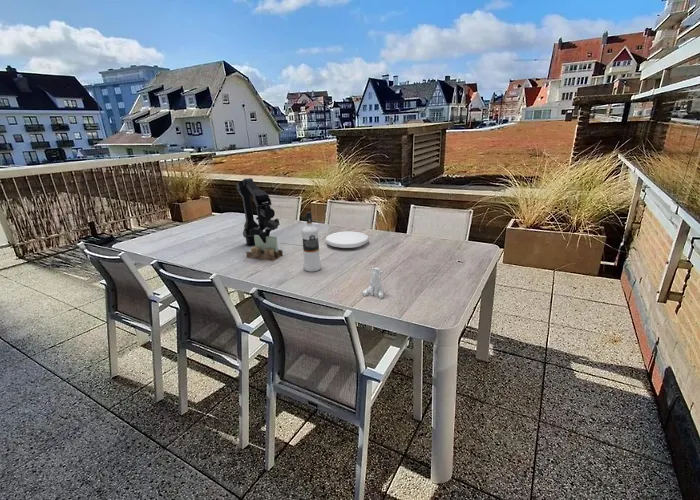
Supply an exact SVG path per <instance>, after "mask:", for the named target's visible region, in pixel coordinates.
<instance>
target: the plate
mask: <svg viewBox="0 0 700 500" xmlns="http://www.w3.org/2000/svg"><path fill="white" fill-rule="evenodd" d="M369 239H370V238H369V236H368V235H367V234H365V233H362V232H359V231H350V230H349V231H348V230H347V231H339V232H338V231H337V232H334V233H330V234H328V235H327V236H326V237H325V243H326V244H327V245H329V246H332V247H335V248H342V249H351V248H352V249H354V248H359V247H362V246H364V245H366V244H367V243H368V242H369Z"/></svg>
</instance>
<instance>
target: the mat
mask: <svg viewBox="0 0 700 500" xmlns="http://www.w3.org/2000/svg"><path fill="white" fill-rule="evenodd" d="M280 244H283V245H287V243H285V242H280ZM290 245H292V246H296V244H294V243H289V246H290ZM298 246H301V247H303V244H298Z"/></svg>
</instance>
